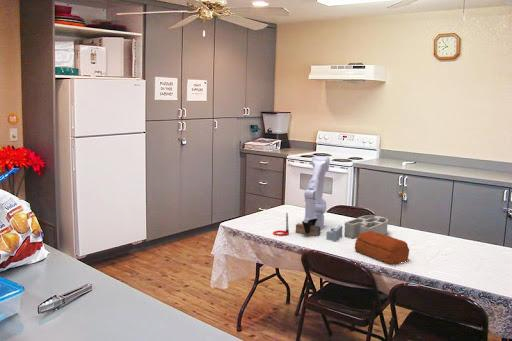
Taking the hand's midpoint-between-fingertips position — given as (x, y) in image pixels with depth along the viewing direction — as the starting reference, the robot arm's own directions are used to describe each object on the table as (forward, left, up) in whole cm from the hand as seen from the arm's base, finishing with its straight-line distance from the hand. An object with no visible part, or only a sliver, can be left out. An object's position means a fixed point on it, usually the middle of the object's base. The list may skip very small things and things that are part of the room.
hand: (309, 231), depth 285 cm
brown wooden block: (0, -1, -2) cm, 2 cm away
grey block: (0, +16, -1) cm, 16 cm away
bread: (+17, +46, -2) cm, 49 cm away
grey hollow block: (-17, +31, -2) cm, 35 cm away
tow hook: (+8, -15, -2) cm, 17 cm away
